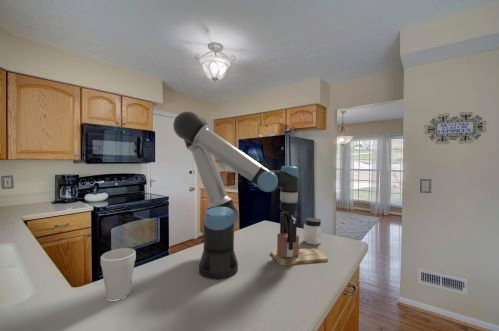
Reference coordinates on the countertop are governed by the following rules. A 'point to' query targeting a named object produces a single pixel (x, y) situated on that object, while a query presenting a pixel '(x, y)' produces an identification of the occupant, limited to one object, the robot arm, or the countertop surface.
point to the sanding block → (283, 245)
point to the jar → (312, 231)
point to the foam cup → (118, 272)
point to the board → (301, 257)
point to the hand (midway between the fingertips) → (286, 253)
